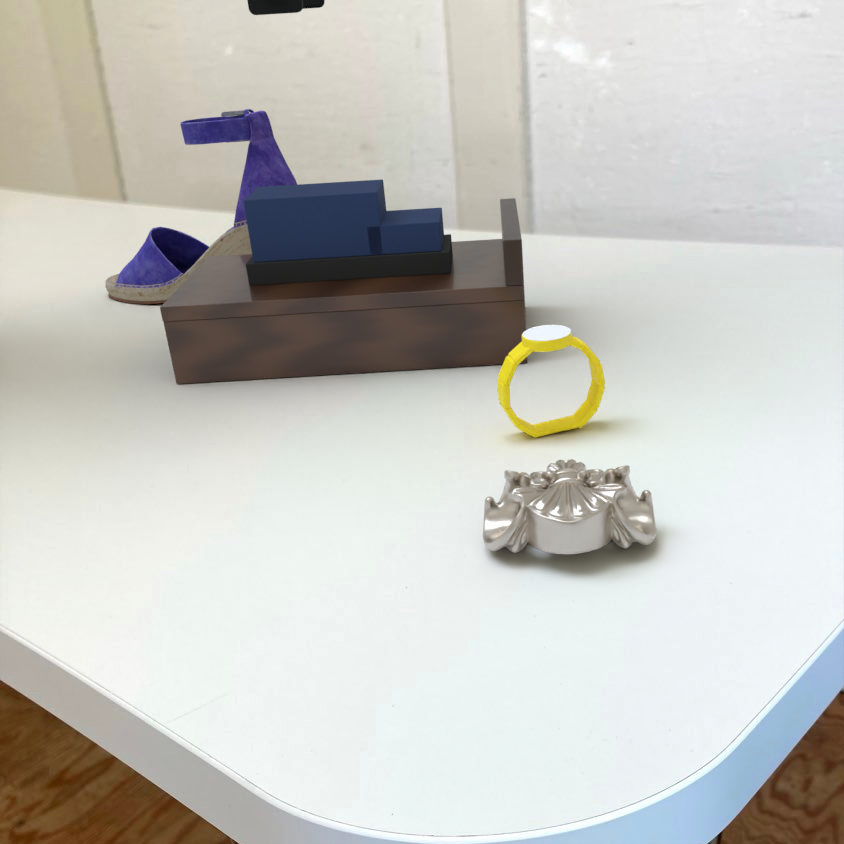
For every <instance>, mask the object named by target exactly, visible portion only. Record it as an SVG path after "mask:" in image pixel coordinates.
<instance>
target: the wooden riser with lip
mask: <svg viewBox="0 0 844 844" xmlns="http://www.w3.org/2000/svg"><path fill="white" fill-rule="evenodd" d="M499 206H500V224H501V226H500V227H501V238H491V239H476V240H461V241H452V252H453V255H452V265H451V273H446V274H429V275H413V276H396V277H380V278H363V279H347V280H330V281H314V282H298V283H281V284H265V285H249V281H248V275H247V270H246V263H247V262H248V261H249V260H250V258H251V257H252V254H244V255H227V256H211V257H208V258H207V259H206V260H205V261H204V262H203V263H202V264H201V265H200V266H199V267H198V268H197V269H196V270H195V271H194V272H193V274H192V275H191V276H190V277H189V278H188V279H187V280H186V281H185V282H184V283H183V284H182V285H181V286H180V287H179V288H178V289H177V290H176V291H175V292H174V293H173V294H172V295H171V296H170V297H169V299H168V300H167V301H166V302H165V303H162V305H161V306H160V307H159V310H160V315H161V321H162V322H163V326H164V331H165V336H166V341H167V346H168V351H169V355H170V360H171V364H172V369H173V374H174V379H175V383H176V384H177V385H184V384H197V383H198V384H199V383H216V382H218V383H219V382H231V381H248V380H265V379H266V380H267V379H283V378H298V377H315V376H331V375H332V376H333V375H347V374H348V375H350V374H364V373H366V374H367V373H380V372H381V373H382V372H397V371H399V372H400V371H413V370H415V371H417V370H430V369H446V368H449V369H450V368H463V367H481V366H497V365H498V366H499V365H503V363H504V360H505V358H506V356H508V353H509V352H510V351H512V350H513V349H514V348H515V347H516V346H517V345H518V344H519V343H520V342H522V334H523V332H524V331H526V330H527V317H526V316H527V315H526V295H525V276H524V256H523V255H524V253H523V238H522V233H521V226H520V225H521V224H520V220H519V212H518V205H517V199H516V198H515V197H512V198H500V199H499ZM528 356H529V355H528ZM528 356H527V357H526V358H525V359H524V360H523V361H522V362H521V363H520V364H527V363H528V362H529V358H528Z"/></svg>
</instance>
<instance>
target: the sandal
mask: <svg viewBox="0 0 844 844" xmlns="http://www.w3.org/2000/svg"><path fill="white" fill-rule="evenodd" d="M179 125H180V129H181V133H182V138H183V143H184V144H185V145H186V146H194V145H195V146H196V145H209V144H222V143H227V144H228V143H242V142H248V146H247V153H246V157H245V158H246V159H245V163H244V167H243V173H242V177H241V182H240V188H239V193H238V196H237V197H238V198H237V202H236V208H235V213H234V214H235V215H234V220H233V226H231V228H229V229H228V230H226V231H225V232H224V233H223V234H222V235H220V236H219V237H218V238H217V239H216V240H214V242H213V243H212V244H210V245H207V244H206V243H205V242H202V241H201V240H199V239H197V238H196V237H194V236H192V235H190V234H188V233H185V232H183V231H181V230H177V229H174V228H170V227H164V226H156V227H152V228H151V229H150V230H149V232H148V234H147V236H146V239H145V241H144V242H143V243H142V245H141V246H140V248H139V250H138V251H137V252H136V254H135V255H134V256H133V258H132V259H131V260H130V261H128V262H127V264H126V265H125V266H124V267H123V268H122V269H121V270H120V272H119V273H117V274H114V275H111V276H108V277H107V278H106V279H105V290H106V291H107V293H108V297H109V298H110V299H112V300H115V301H119V302H124V303H130V304H136V305H138V304H139V305H140V304H141V305H153V304H164V303H165V302H166V301H167V300H168V299H169V297H170V296H171V295H172V294H173V293H174V292H175V291H176V290H177V289H178V288H179V287H180V286H181V285H182V284H183V283H184V282H185V281H186V280H187V279H188V278H189V277H190V276H191V275H192V274H193V272H194V271H195V270H196V269H197V268H198V267H199V266H200V265H201V264H202V263H203V262H204V261H205V260H206V259H207V258H208V257H211V256H227V255H244V254H252V250H251V244H250V238H249V232H248V226H247V220H246V214H245V208H244V202H243V201H244V200H245V199H246V198H247V197H248V196H249V195H250V194H251V193H252V192H253V191H254V190H255V189H256V188H257V187H266V186H283V185H298V182H297V180H296V178H295V175H294V174H293V173H292V171H291V169H290V166H289V165H288V163H287V161H286V159H285V157H284V154H283V153H282V151H281V148H280V147H279V145H278V143H277V140H276V138H275V136H274V130H273V127H272V124H271V121H270V118H269V116H268V113H267V112H266V111H265V110H258V111H254V110H253V109H251V108H246V109H244V110H243V109H242V110H230V111H229V110H228V111H222V112H221V114H220V116H214V117H213V116H212V117H201V118H195V119H187V120H183V121H181V122H180V124H179Z"/></svg>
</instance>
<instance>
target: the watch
mask: <svg viewBox="0 0 844 844" xmlns="http://www.w3.org/2000/svg"><path fill="white" fill-rule="evenodd" d="M572 334H573V332H572V330H571V328H570V327H568V326H565V325H562V324H543V325H537V326H533V327H530V328H528V329H527V328H526V331H524V332H523V334H522V342H520V343H519V344H518V345H517V346H516V347H515V348H514V349H513V350H512V351H510V352H509V353H508V356H506V358H505V360H504V363H503V364H501V365H502V366H501V367H500V370H499V373H498V374H497V380H496V382H497V383H496V384H497V398H498V401H499V405H500V406H501V408H502V409H503V411H504V412H505V415H506V416H507V417H508V419H509V420H510V421H511V423H512V424H513V426H514V427H516V429H517V430H519V431H521V432H523V433H525V434H527V435H529V436H530V437H533V438H534V439H536V438H538V437H544V436H547V435H552V434H555V433H560V432H564V431H565V432H567V431H570V430H574V429H578V428H579V429H582V428H583V427H585V426H586V425H587V423H588V422H589V421H590V420H591V419H592V417H593V416H594V415H595V414H596V413H597V412H598V409H599V408H600V406H601V403H602V399H603V396H604V392H605V389H606V386H605V385H606V381H605V375H604V370H603V364H602V363H601V360H600V359H599V357H598V356H597V355H596V354H595V353H594V352H593V349H592V348H590V346H589V345H587V344H586V343H585V342H584V341H583V340H582V339H580V338H579V337H577V336H574V335H572ZM568 347H572V348H575V349H578V350H580V351H581V352H582V354H583V355H584V356H585V357H586V358H587V360H588V364H589V365H588V366H589V370H590V375H591V381H590V385H589V389H588V392H587V395H586V399H585V400H584V401H583V402H582V403H581V405H580V406H579V407H578V408H577V410H575V412H574V413H573V414H572V415H568V416H564V417H559V418H555V419H551V420H547V421H543V422H538V423H534V424H532V423H530V422H528V421H526V420H524V419H522V418H521V417H518V416H517V414H516V413H515V411H514V409H513V408H512V407H511V393H510V384H511V383H512V380H513V378H514V376H515V373H516V371H517V368H518V366H519V365H520V364H522V363H521V362H522V361H523V360H524V359H525V358H526V357H527V356H530V355H531V354H532V353H533V352H535V353H550V352H555V351H560V350H563V349H565V348H568Z"/></svg>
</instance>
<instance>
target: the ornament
mask: <svg viewBox="0 0 844 844" xmlns="http://www.w3.org/2000/svg"><path fill="white" fill-rule="evenodd" d="M630 473H631V466H630V465H628V464H627V465H622V466H618V467H615V468H608V469H606V470H605V471H604V470H603V469H601V468H600V469H597V468H595V469H593V468H592V469H591V468H590V469H587V465H586V464H585V463H583V462H582V461H579V462H577V460H575V459H572V458H571V459H567V461H565V460H564V459H559V460H556V461H555V463H554V462H553V463H552V462H551V463H549V464H548V465H547V466H546V471H532V472H531V473H527V472H526V471H525V472H524V471H521V472H518V471H515V470H504V473H503V476H504V479H505V482H504V485H503V490H502V493H501V495H500V498H499V500H498V502H497V501H496V499H495V498H494V497H493V496H487V497H486V498H485V499H484V507H483V524H482V525H483V526H482V527H483V529H482V540H483V544H484V546H485V547H486V548H487V549H488V550H490V551H491V552H498V551H499V550H501V549H503V548H507V549H508V551H509V552H511V553H513V554H516V553H519V552H521V551H522V550H523V549H524V548H526V546H527V544H528V545H529V546H531V547H533V548H534V549H536V550H538V551H541V552H544V553H548V554H557V555H577V554H585V553H589V552H592V551H597V550H599V549H602V548H604V547H605V546H607V545H608V544H609V543H611V542H612V541H613V542H614V544H616V545H617V546H618V547H620V548H622V549H624V550H626V549H629V548H630V547H631V546H632V545H633V543H639V544H640V545H642V546H650V545H651V544H652V543H653V542H654V541H655V539H656V537H657V524H656V523H657V522H656V518H655V510H654V503H653V495H652V492H651V491H650V490H647V489H645V490H643V491H642V492H641V493H640V496H638V495H637V493H636V491H635V489H634V488H633V485H632V482H631V478H630V476H629V475H630Z"/></svg>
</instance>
